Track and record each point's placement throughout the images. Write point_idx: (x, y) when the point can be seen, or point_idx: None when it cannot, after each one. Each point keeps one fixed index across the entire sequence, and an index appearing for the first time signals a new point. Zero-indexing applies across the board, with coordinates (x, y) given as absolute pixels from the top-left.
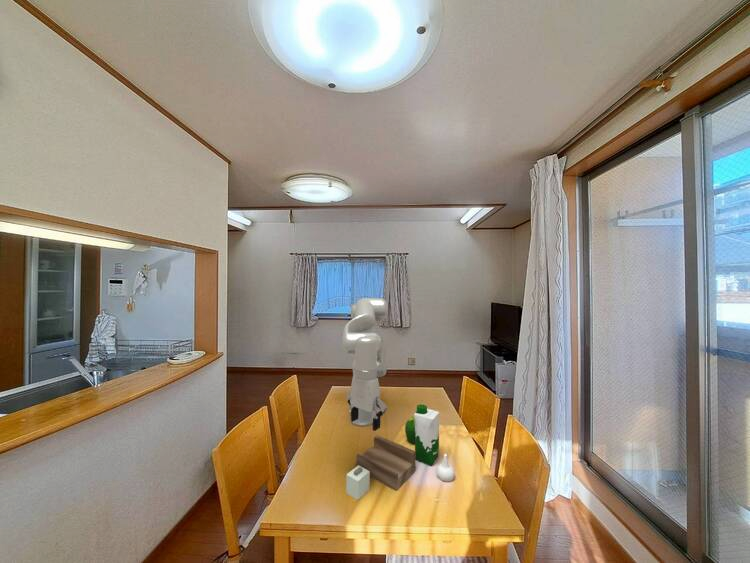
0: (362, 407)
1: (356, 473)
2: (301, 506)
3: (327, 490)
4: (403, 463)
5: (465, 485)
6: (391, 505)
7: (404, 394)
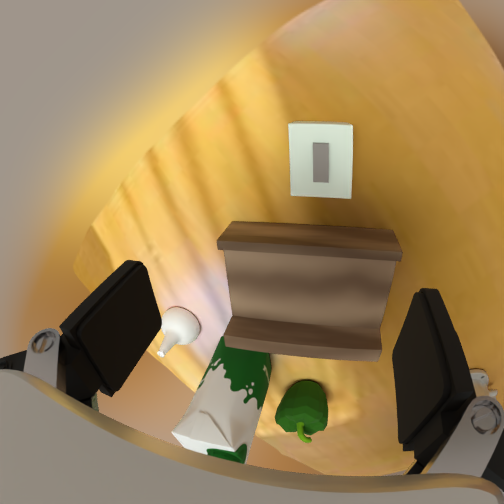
0: (80, 463)
1: (313, 143)
2: (405, 15)
3: (401, 97)
4: (253, 304)
5: None
6: (209, 170)
7: (394, 464)
